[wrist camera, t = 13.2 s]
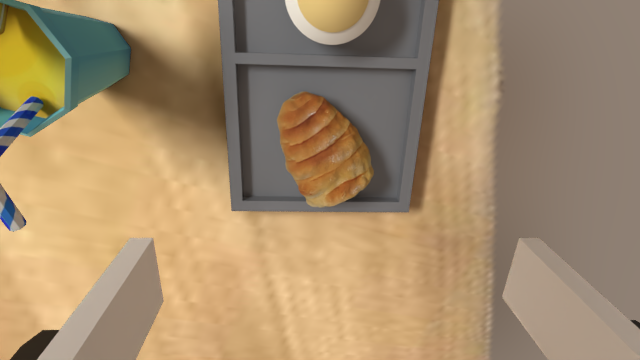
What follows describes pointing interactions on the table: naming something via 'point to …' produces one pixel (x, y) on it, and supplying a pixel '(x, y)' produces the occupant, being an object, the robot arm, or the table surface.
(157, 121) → the table surface
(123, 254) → the robot arm
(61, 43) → the cup
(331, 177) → the pastry
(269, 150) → the serving board
